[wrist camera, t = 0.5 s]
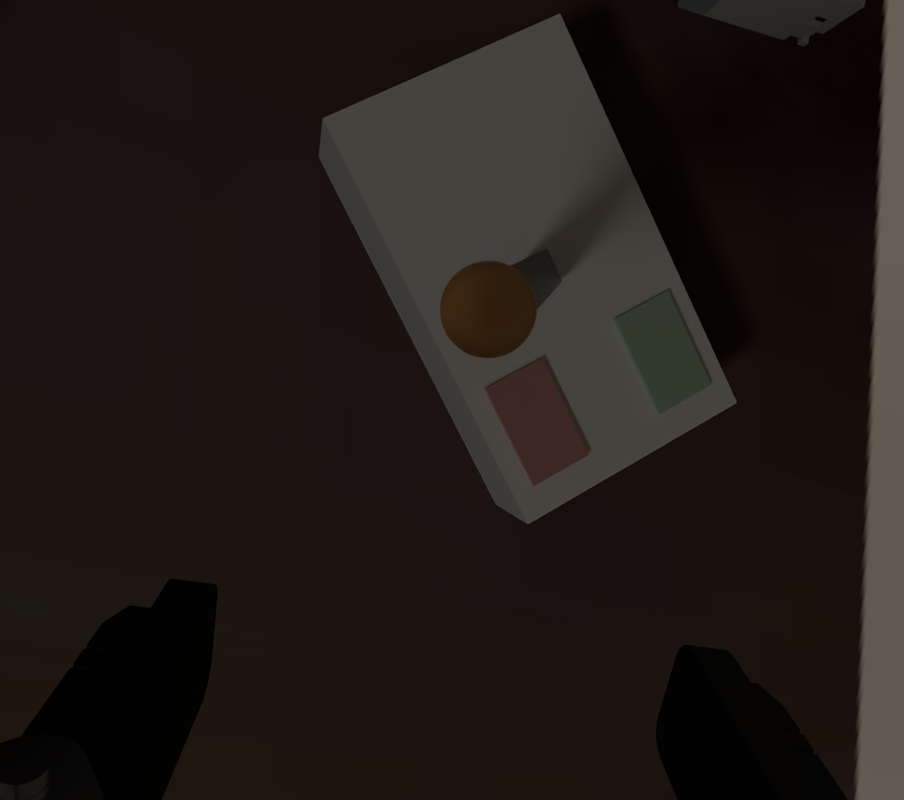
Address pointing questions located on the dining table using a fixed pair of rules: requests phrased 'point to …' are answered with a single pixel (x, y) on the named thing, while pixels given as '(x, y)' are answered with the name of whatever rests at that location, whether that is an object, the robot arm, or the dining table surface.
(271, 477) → the dining table surface
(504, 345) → the breaker lever
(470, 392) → the box
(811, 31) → the circuit breaker
